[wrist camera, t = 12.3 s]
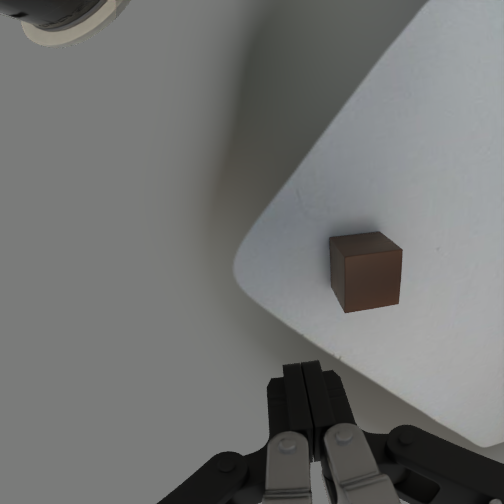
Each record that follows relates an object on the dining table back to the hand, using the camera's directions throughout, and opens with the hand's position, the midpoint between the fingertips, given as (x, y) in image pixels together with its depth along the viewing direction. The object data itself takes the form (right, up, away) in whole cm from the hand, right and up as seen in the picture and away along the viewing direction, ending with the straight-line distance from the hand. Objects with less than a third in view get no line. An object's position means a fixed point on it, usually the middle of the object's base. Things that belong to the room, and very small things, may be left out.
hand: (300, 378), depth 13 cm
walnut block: (+6, +5, +11) cm, 13 cm away
